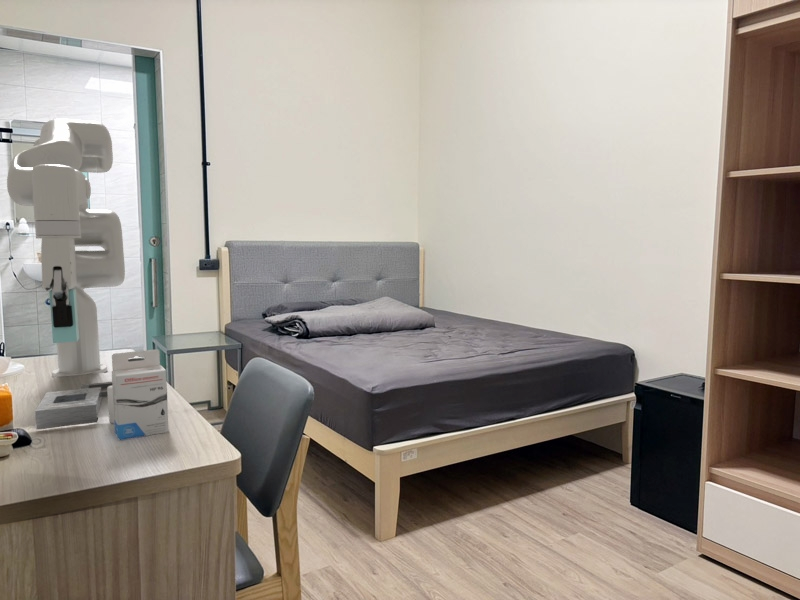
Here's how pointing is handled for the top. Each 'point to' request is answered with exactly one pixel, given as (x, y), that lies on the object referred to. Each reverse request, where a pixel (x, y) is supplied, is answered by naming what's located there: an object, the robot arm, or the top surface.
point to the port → (68, 408)
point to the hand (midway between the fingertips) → (65, 324)
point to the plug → (66, 332)
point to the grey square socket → (102, 385)
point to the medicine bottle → (110, 396)
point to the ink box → (139, 395)
